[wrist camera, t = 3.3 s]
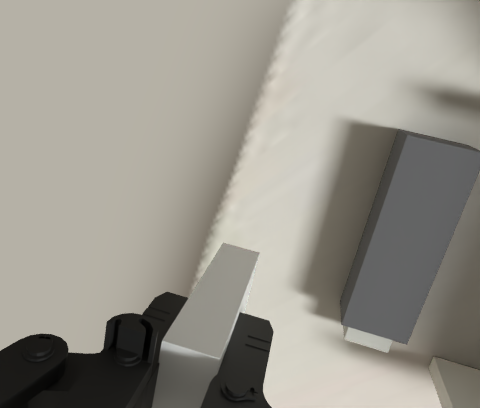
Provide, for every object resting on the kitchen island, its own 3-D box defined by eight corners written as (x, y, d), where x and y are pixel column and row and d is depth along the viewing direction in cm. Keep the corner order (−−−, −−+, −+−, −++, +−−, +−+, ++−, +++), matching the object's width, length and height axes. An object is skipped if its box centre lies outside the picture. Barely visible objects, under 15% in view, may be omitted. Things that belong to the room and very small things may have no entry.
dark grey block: (398, 128, 24) (407, 135, 21) (467, 145, 24) (486, 153, 21) (334, 317, 29) (335, 343, 26) (391, 334, 28) (399, 363, 25)
